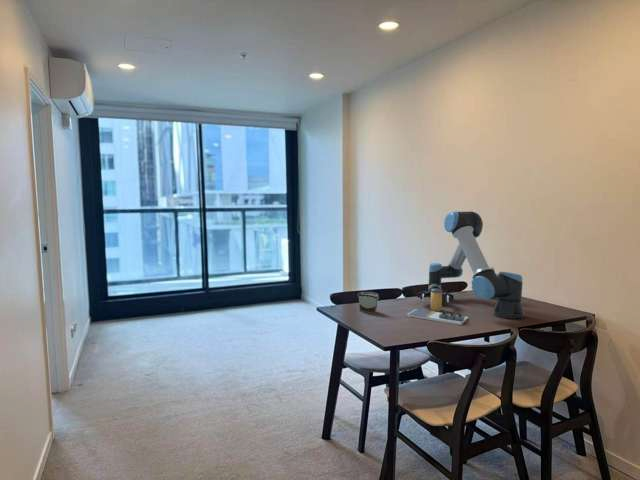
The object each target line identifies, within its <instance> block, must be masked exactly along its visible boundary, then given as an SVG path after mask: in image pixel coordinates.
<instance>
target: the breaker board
mask: <svg viewBox="0 0 640 480" xmlns="http://www.w3.org/2000/svg"><path fill="white" fill-rule="evenodd" d="M454 313H455V312H454V311H450V313H447V311H446V309H444V310H442V312H441V311H432V310H430V309H423V308H415V309H413V310H412V311H410V312H408V313H407V314H406V315H407V317H409V318H415V319H423V320H428V321H434V322H439V323H445V324H446V323H447V324H452V325H459V326H462V325H463V324H464V323H465V322H467V321H468V320H469V319H468V318H469V317H468V316H464V315H463V313H462V312H459V313H458V314H454ZM467 319H468V320H467Z"/></svg>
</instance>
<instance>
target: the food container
mask: <svg viewBox="0 0 640 480" xmlns="http://www.w3.org/2000/svg"><path fill="white" fill-rule="evenodd" d="M357 297H358V304H359V307H358V308H359V312H364V313H371V314H376V313H377V308H378V300H379V299H380V296H379V294H378V293H377V292H371V291H361V292H358V293H357Z"/></svg>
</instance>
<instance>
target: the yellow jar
mask: <svg viewBox="0 0 640 480" xmlns="http://www.w3.org/2000/svg"><path fill="white" fill-rule="evenodd" d="M443 291H444V290H443V289H442V288H441V289H437V288H433V289H431V297H430V304H429V305H430V307H429V308H430V309H429V310H430V311H435V312H441V311H442V309H443V308H442V305H443V304H442V303H443V298H442V293H444V292H443Z"/></svg>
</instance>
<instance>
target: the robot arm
mask: <svg viewBox="0 0 640 480" xmlns="http://www.w3.org/2000/svg"><path fill="white" fill-rule="evenodd" d="M443 222H444V223H443V225H444V229H445V231H446V232H447V233H451V235H452V236H453V238H454V239H457V240H458V245H457V246H456V249H455V251H454V254H453V255H452V257H451V260H450V262H449V263H448V265H444V266H443V265H442V263H439V262H433V263H430V264H429V267H428V268H429V269H428V286H427V288H428V290H427V291H426V290H422V291H419V292H417V295H416V297H417V298H420V300H421V301H422V302H424V300H425V299H424V298H431V289H433V288H437V289H442V279H450V278H451V279H452V278H454V279H455V278H460V277H462V275H463V268H462V267H463V265H464V262H465V261H466V260H467V262H468V265H469V267H470V268H471V272H473V276H472V281H471V289H472V292H473V294H474V295H475V296H476V297H478V298H479V299H487V300H488V299H495V298H496V299H497V301H496V303H495V306H494V308H493V313H492V314H493V315H494V316H495V315H496V317H497V318H501V317H502V319H507V318H509V320H517V319H516V318H522V317H524V318H525V311H524V307H523V305H522V304H523V303H522V295H523V293H522V292H523V276H522V274H519V273H515V272H514V273H513V272H509V271H508V272H507V271H499V272H498V273H496V271H495V269H493V268H491V267H490V266H489V264H488V262H487V260H486V257H485V255H484V253H483V252H482V250H481V247H480V246H479V244H478V241H477V238H478V237H480V235H481V234H482V231H483V228H484V226H483V225H484V222H483V219H482V217H481V216H480V215H479V214H478V213H477V212H475V211H457V210H455V211H450V212H448V213H447V214H446V216H445V218H444V221H443ZM496 274H498V275H496ZM454 296H455V295H454V294H451V293H449V292H447V291H444V292H442V299H445V300H446V302H447V303H449V302H450V301H451V300H452V301H454ZM522 319H523V318H522Z"/></svg>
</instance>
